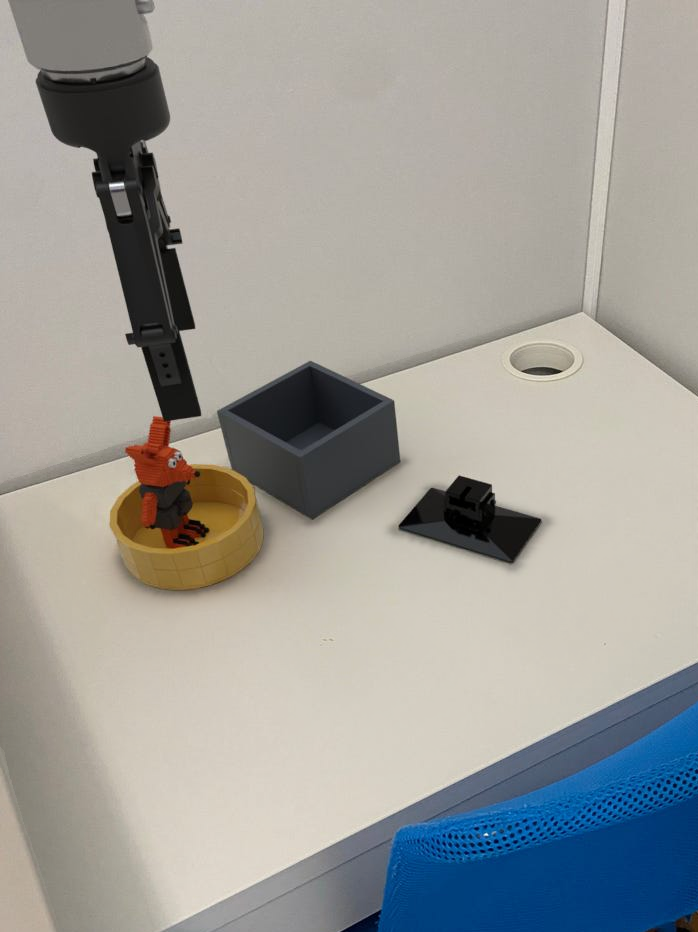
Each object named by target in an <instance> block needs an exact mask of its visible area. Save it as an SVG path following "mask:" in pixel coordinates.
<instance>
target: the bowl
mask: <svg viewBox="0 0 698 932" xmlns="http://www.w3.org/2000/svg"><path fill="white" fill-rule="evenodd" d="M188 466H192V468H193V471H199V472H200V476H199V477H196V478H191V480H190V484H189V485H187V482H188V480H186V486H185V487H184V488H185V489H186V490H187V491H189V493H190V496H191V499H192V502H193V505H192V506H193V507H192V509H191V510H190V511H189V513H188V514H187V515H188V518H189V519H191V520H198V521H200V522H201V524H205V527H207V528H209V530H210V531H209V532H208V533H206V536H205V538H204V537H197V538H194V539H195V541H196V542H199V544H197V545H193V546H187V547H181V548H174V549H173V548H167V546H166V545H165V542H164V539H163V535H162V532H161V529H160V528H155V529H151V528H149V529H148V528H145V526H144V525H143V524H142V522H141V519H142V518H141V517H142V506H143V505H142V502H143V501H142V498H141V495H140V492H139V489H140V488H139V486H140V485H141V484H140V482H139V480H138V481H136V482H134V483H132V484H131V485H129V486H128V487H127V489H125V490H124V491H123V492H122V493H121V494H119V496H118V497H117V498H116V500H115V502H114V504H113V505H112V507H111V509H110V510H109V521H108V522H109V523H108V526H109V528H110V531H111V533H112V536H113V539H114V541H115V544H116V546H117V549H118V551H119V554H120V556H121V558H122V560H123V563H124V566H125V567H126V569H127V571H128V572H129V574H130V575H131V576H133V578H135V579H136V580H137V581H139V582H141V583H143V584H144V585H147V586H149V587H154V588H155V589H162V590H169V591H171V590H172V591H187V590H195V589H200V588H205V587H209V586H212V585H214V584H218V583H220V582H223V581H225V580H228V579H229V578H231V577H233V576H235V575H236V574H238V573H239V572H240V571H242V570H244V569H245V568H246V567H247V566H249V564H251V563H252V562H253V561H254V559H255V558H256V557H257V555H258V554H259V552H260V551H261V548H262V547H263V543H264V539H265V531H264V525H263V520H262V516H261V515H262V514H261V511H260V507H259V502H258V498H257V495H256V490H255V488H254V486H253V484H251V483H250V482H249V481H248V480H247V478H245V477H244V476H242V475H241V474H239V473H237V472H236V471H234V470H232V468H228V467H224V466H220V465H217V464H203V463H202V464H201V463H199V464H197V463H193V464H188Z"/></svg>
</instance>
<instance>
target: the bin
mask: <svg viewBox="0 0 698 932" xmlns="http://www.w3.org/2000/svg"><path fill="white" fill-rule="evenodd" d="M216 415H217V418H218V422H219V425H220V430H221V433H222V437H223V441H224V445H225V449H226V453H227V457H228V461H229V464H230V469H232V470H234V471H236V472H237V473H239V474H241V475H242V476H244V477H245V478H247V480H248V481H249V482H250V484H251V485H252V486H255V487H257V488H258V489H260V490H261V491H263V492H265V493H266V494H268V495H270V496H271V497H273V498H275V499H276V500H278V501H280V502H282V503H283V504H284V505H286V506H288V507H290V508H292V509H293V510H295V511H296V512H298V513H300V514H301V515H304V516H305V517H307V518H309V519H310V520H315V519H316V518H318V517H319V516H321V515H322V514H324V513H325V512H326V511H328V510H330V509H331V508H333V507H334V506H336V505H338V504H339V503H340V502H342V501H343V500H345V499H346V498H348V497H350V496H351V495H353V494H354V493H355V492H358V490H360V489H361V488H363V487H364V486H366V485H368V484H370V483H371V482H372V481H374V480H375V479H377V478H378V477H380V476H381V475H383V474H385V473H386V472H388V471H389V470H390V469H392V468H393V467H395V466H397V465H398V464H400V463H401V454H400V444H399V434H398V423H397V414H396V404H395V400H394V399H392V398H390V397H388V396H386V395H383V394H382V393H379V392H377V391H375V390H374V389H372V388H369V387H367V386H365V385H363V384H361V383H358V382H356V381H355V380H352V379H351V378H348V377H346V376H345V375H344V376H343V375H342V374H340V373H338V372H336V371H334V370H331V369H329V368H327V367H325V366H323V365H321V364H319V363H317V362H314V361H312V360H308V361H307V362H305V363H303V364H301V365H299V366H297V367H295V368H293V369H292V370H290V371H288V372H286V373H284V374H283V375H281V376H279V377H277V378H275V379H273V380H272V381H269V382H268V383H265V384H264V385H263V386H260V387H258V388H256V389H255V390H253V391H251V392H249V393H247V394H246V395H244V396H241V397H240V398H238V399H236V400H235V401H232V402H231V403H229V404H227V405H225V406H223V407H221V408H219V409H217V410H216Z"/></svg>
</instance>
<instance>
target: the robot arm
mask: <svg viewBox="0 0 698 932" xmlns="http://www.w3.org/2000/svg"><path fill="white" fill-rule="evenodd" d="M7 1H8V5H9V8H10V10H11V13H12V17H13V20H14V24H15V26H16V29H17V32H18V35H19V38H20V42H21V45H22V47H23V51H24V54H25V58H26V61H27V62H28V63H29V65H31V66H32V67H34V68H35V69H36V70H39V71H38V72H37V75H36V78H35V85H36V88H37V91H38V95H39V96H40V101H41V103H42V107H43V110H44V112H45V115H46V119H47V122H48V124H49V128H50V132H51V133H52V135H53V136H54V138H55V139H56V140H58V141H59V142H60V143H62V144H64V145H66V146H69V147H73V148H77V149H81V148H84V149H88V150H90V151H92V152H94V153H95V155H96V157H97V158H92V161H93V167H94V171H91V178H92V184H93V188H94V191H95V195H96V197H97V199H99V203H100V207H101V211H102V213H103V217H104V221H105V226H106V230H107V232H108V236H109V240H110V244H111V248H112V253H113V256H114V261H115V265H116V269H117V273H118V277H119V281H120V285H121V289H122V293H123V298H124V302H125V305H126V310H127V314H128V319H129V322H130V327H131V331H132V332H128V333H127V332H126V333H125V340H126V343H127V344H128V346H131V345H135V347H137V348H140V349H141V351H142V355H143V359H144V361H145V365H146V369H147V371H148V374H149V378H150V381H151V384H152V387H153V391H154V393H155V394H154V395H155V397H156V400H157V404H158V407H159V411H160V413H161V417H163V420H164V422H165V421H171V422H172V421H178V420H185V419H192V418H198V417H202V410H201V405H200V402H199V398H198V395H197V391H196V390H197V389H196V387H195V383H194V379H193V376H192V372H191V368H190V364H189V362H188V358H187V357H188V356H187V354H186V350H185V347H184V343H183V340H182V336H181V332H182V331H190V330H196V322H195V318H194V315H193V311H192V307H191V303H190V299H189V296H188V292H187V288H186V284H185V280H184V277H183V276H184V275H183V272H182V268H181V265H180V260H179V257H178V253H177V249H176V247H170V248H169V247H168V246H175V245H183V237H182V233H181V230H180V227H179V228H178V227H177V228H171V223H172V219H171V216H170V215H169V214H168V211H167V207H166V204H165V201H164V198H163V194H162V189H161V184H160V180H159V171H158V166H157V161H156V158H155V155H154V152H149V149H148V146H147V143H146V142H147V141H151V140H152V139H154V138H156V137H158V136H160V135H161V134H163V133H164V132H165V131H166V130H167V129H168V127H169V125H170V123H171V114H170V110H169V109H170V108H169V105H168V101H167V96H166V92H165V88H164V84H163V79H162V76H161V72H160V68H159V65H158V64H157V63H156V62H155V61H154V60H153V59H152V58H150V57H149V55H150V54H151V52H152V51H153V47H154V45H153V40H152V37H151V32H150V28H149V24H148V20H147V18H146V16H145V15H147V14H148V15H149V14H152V13H153V12H154V11H155V9H156V7H155V2H154V0H7Z"/></svg>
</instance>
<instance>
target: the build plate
mask: <svg viewBox="0 0 698 932" xmlns="http://www.w3.org/2000/svg"><path fill="white" fill-rule="evenodd" d="M496 504H497V500H496V493H495V492H493V484H492V483H488V482H485V481H482V480H481V481H480V480H477V479H474V478H471V477H466V476H463V475H459V474H458V475H457V477H456V478H455V479H454V480H453V481H452V483H451V484H450V485H449V486H448V487H447V489H446V490H442V489H439V488H435V487H430V488H429V489H428V490H427V491H426V493H425V494H424V495H423V496H422V497H421V499H420V500H419V501H418V502H416V504H415V505H414V507H413V508H412V509H411V510H410V511H409V513H407V514H406V516H405V517H404V518H403V520H402V521H401V522H400V523H399V524H398V526H397V527H398V530H399V531H402V532H405V533H409V534H412V535H415V536H419V537H422V538H425V539H428V540H430V541H431V540H432V541H435V542H438V543H441V544H444V545H448V546H451V547H454V548H457V549H461V550H465V551H467V552H470V553H473V554H477V555H481V556H482V557H483V556H484V557H486V558H489V559H493V560H497V561H500V562H503V563H506V564H510V565H512V564H514V563H515V561H516V560H517V558H518V557H519V556H520V554H521V553H522V551H523V550H524V549H525V547H526V546H527V544H528V543H529V541H530V540H531V538H532V537H533V535H534V534H535V532H536V531H537V530H538V528H539V527H540V526H541V524H542V518H540V517H537V516H534V515H530V514H526V513H522V512H519V511H516V510H512V509H509V508H505V507H503V506H499V505H496Z"/></svg>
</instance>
